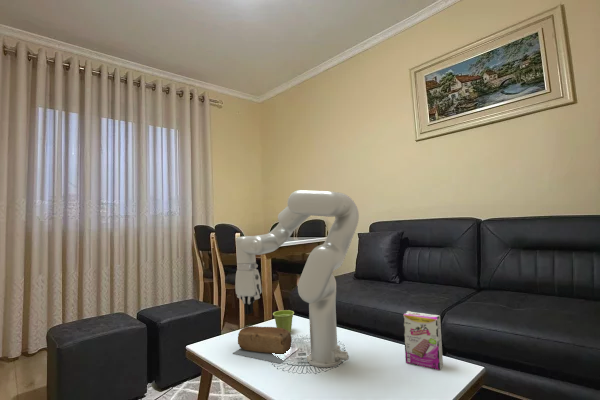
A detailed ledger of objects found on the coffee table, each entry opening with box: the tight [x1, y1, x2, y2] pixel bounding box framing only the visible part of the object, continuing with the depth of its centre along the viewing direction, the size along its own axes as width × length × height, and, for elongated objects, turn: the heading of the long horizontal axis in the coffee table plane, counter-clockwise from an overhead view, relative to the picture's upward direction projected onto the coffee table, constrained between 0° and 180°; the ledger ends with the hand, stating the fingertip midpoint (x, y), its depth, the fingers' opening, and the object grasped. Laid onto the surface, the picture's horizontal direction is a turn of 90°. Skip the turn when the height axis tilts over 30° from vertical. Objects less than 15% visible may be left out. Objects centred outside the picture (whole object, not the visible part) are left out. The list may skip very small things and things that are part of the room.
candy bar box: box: [403, 310, 444, 371], centre depth 109 cm, size 11×5×16 cm, turn 56°
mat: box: [232, 347, 284, 365], centre depth 125 cm, size 22×14×1 cm, turn 61°
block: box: [237, 325, 292, 354], centre depth 127 cm, size 11×8×20 cm
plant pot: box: [272, 309, 295, 333], centre depth 144 cm, size 9×9×9 cm
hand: (249, 313), depth 129 cm, fingers closed
